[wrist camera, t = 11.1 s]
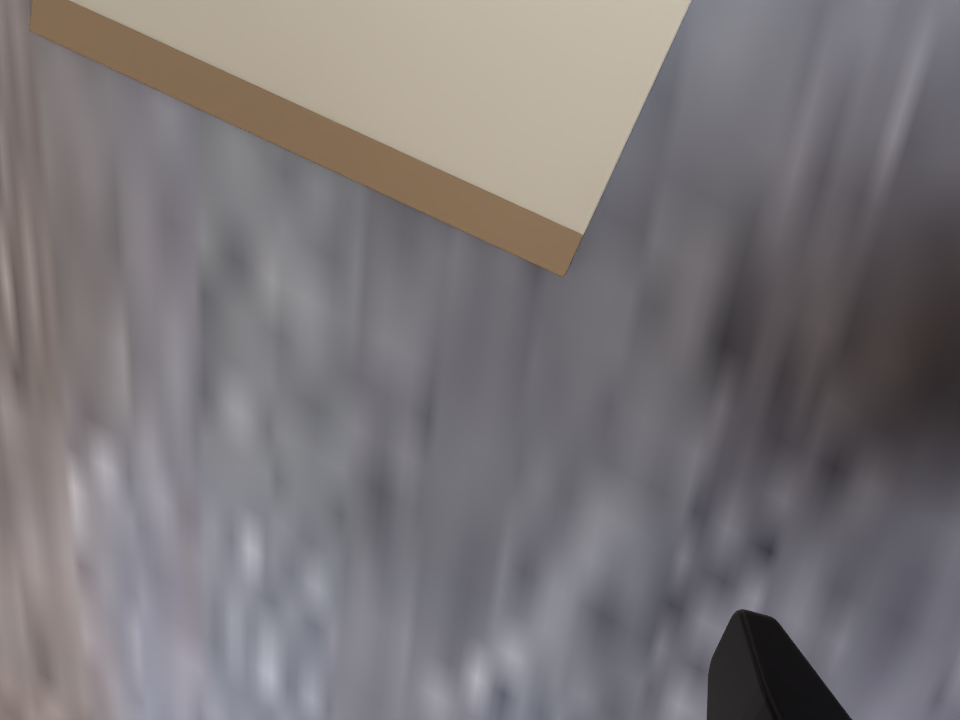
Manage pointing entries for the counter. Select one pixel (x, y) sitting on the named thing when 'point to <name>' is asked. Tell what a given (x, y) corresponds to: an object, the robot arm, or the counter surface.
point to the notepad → (410, 93)
